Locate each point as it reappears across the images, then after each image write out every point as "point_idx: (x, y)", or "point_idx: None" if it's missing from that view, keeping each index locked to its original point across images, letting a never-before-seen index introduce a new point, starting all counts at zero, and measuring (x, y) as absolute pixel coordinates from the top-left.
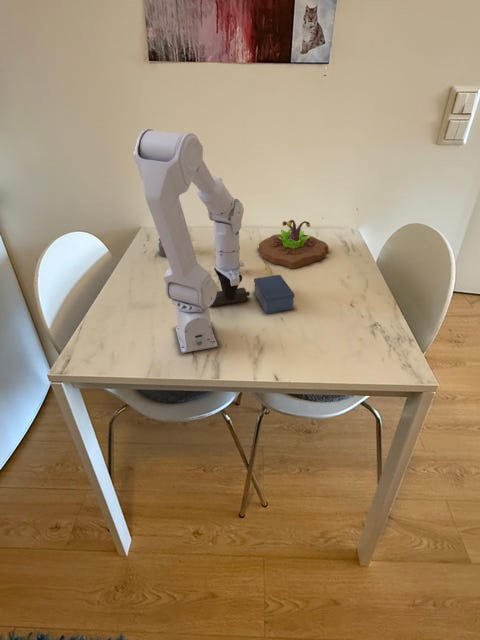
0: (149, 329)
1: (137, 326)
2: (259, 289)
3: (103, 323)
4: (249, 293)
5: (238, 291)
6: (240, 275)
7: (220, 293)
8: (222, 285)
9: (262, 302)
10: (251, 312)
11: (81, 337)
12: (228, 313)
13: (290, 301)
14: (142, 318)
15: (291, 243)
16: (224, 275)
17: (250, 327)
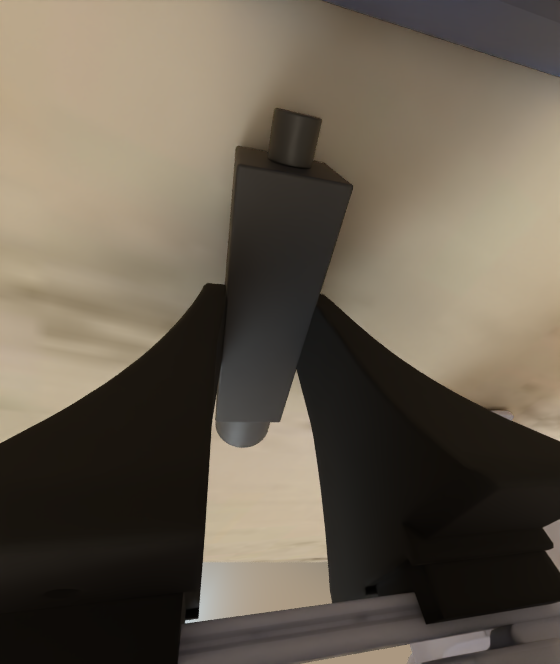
0: (298, 505)
1: (270, 518)
2: (548, 5)
3: (224, 549)
4: (319, 122)
5: (293, 262)
6: (527, 492)
7: (255, 383)
8: (319, 468)
9: (530, 49)
10: (463, 200)
11: (258, 559)
12: (370, 327)
13: None
14: (238, 514)
15: None
16: (363, 597)
17: (554, 273)
